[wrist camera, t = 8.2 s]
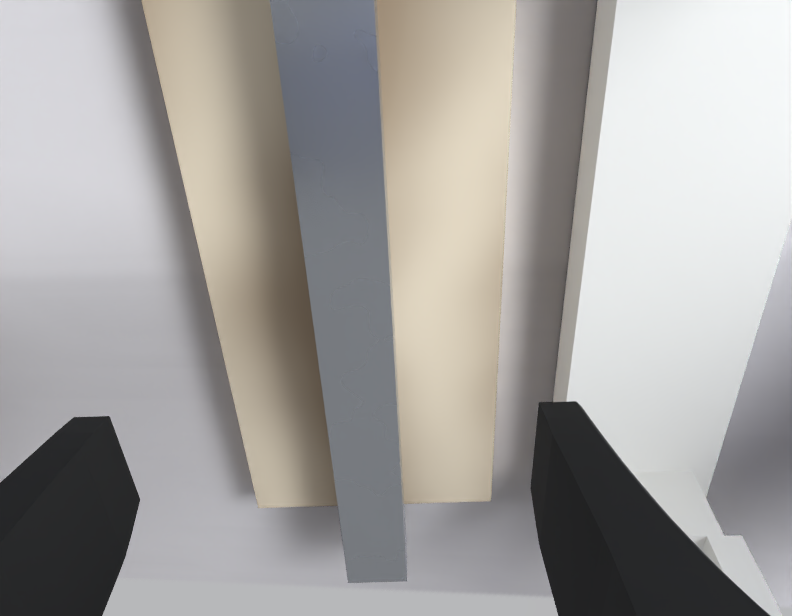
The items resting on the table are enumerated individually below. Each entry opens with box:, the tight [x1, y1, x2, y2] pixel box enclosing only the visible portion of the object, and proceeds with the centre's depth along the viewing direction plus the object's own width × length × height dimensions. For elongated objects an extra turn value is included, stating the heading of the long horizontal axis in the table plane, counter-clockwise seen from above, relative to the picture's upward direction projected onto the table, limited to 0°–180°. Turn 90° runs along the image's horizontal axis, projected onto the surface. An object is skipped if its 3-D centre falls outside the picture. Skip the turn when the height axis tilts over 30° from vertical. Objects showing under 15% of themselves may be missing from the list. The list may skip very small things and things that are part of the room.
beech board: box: [141, 0, 516, 508], centre depth 18 cm, size 8×20×1 cm, turn 2°
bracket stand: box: [553, 0, 792, 616], centre depth 15 cm, size 5×22×7 cm, turn 2°
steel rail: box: [270, 0, 407, 583], centre depth 17 cm, size 2×24×2 cm, turn 2°
